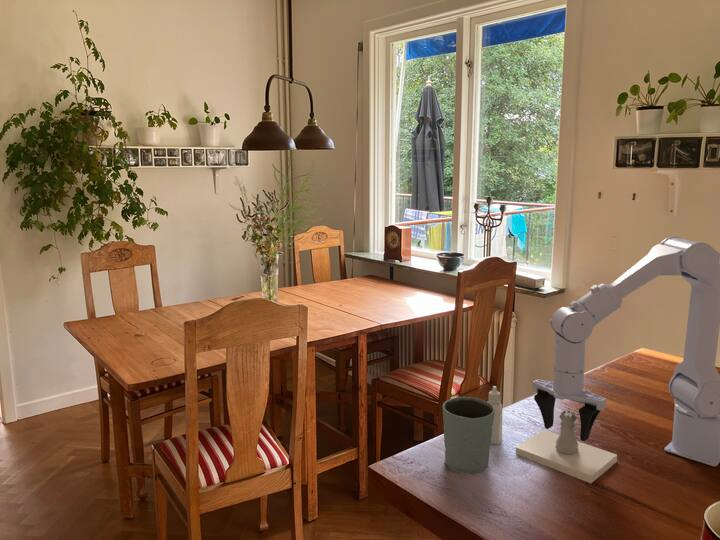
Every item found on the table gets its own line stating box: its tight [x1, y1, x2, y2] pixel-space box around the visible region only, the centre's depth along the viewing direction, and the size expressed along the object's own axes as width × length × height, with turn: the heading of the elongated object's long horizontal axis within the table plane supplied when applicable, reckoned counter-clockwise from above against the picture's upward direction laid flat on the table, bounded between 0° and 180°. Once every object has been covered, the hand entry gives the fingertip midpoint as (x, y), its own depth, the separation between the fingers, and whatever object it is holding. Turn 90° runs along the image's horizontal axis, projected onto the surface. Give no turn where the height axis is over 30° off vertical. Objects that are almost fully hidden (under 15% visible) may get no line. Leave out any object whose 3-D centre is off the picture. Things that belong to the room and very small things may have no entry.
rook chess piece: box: [555, 410, 579, 455], centre depth 117 cm, size 4×4×8 cm
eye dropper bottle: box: [488, 385, 503, 445], centre depth 125 cm, size 4×6×12 cm
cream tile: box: [515, 429, 618, 484], centre depth 118 cm, size 16×11×2 cm
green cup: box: [442, 396, 495, 474], centre depth 116 cm, size 10×10×12 cm
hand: (566, 433), depth 117 cm, fingers open, 7 cm apart
